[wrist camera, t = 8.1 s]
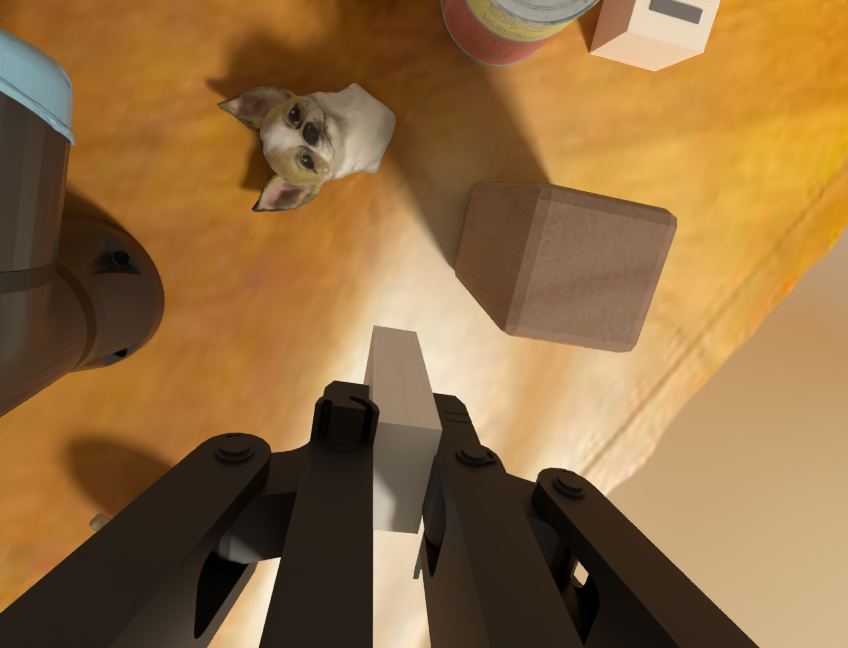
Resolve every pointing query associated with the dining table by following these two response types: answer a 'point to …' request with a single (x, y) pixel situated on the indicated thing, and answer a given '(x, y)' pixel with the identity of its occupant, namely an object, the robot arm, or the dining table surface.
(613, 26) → the marked cube 1
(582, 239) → the block
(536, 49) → the canned food
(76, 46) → the dining table surface
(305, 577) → the robot arm
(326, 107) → the ceramic sculpture
